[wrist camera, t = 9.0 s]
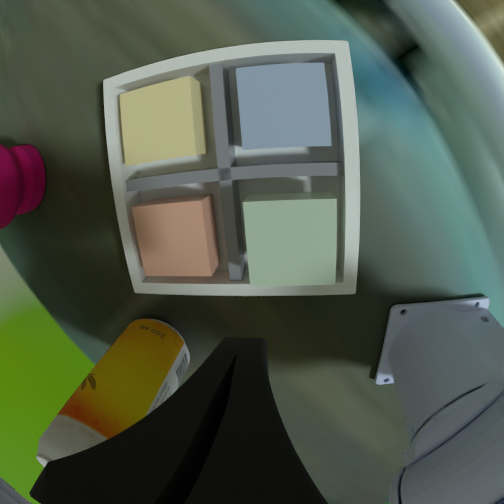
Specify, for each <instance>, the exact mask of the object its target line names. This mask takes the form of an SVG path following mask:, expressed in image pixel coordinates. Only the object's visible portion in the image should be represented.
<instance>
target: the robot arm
mask: <svg viewBox="0 0 504 504" xmlns="http://www.w3.org/2000/svg"><path fill="white" fill-rule="evenodd" d="M489 301H490V300H489V298H488V297H487V296H483V297H475V298H466V299H457V300H447V301H436V302H425V303H413V304H399V305H394V306H393V307H392V308H391V309H390V313H389V318H388V324H387V329H386V334H385V339H384V344H383V348H382V353H381V357H380V361H379V365H378V369H377V373H376V377H375V382H376V384H389V383H394V384H395V387H396V391H397V394H398V397H399V401H400V405H401V408H402V412H403V416H404V419H405V423H406V427H407V431H408V435H409V440H410V444H411V445H410V446H409V447H408V448H407V449H406V450H404V451H403V452H402V454H403V460H404V466H403V467H401V468H400V469H399V470H398V471H397V472H396V474H395V475H394V478H393V480H392V483H391V487H390V504H504V328H503V327H502V326H501V325H500V323H499V322H498V321H497V320H496V319H495V318H494V316H493V315H492V314H491V313H490V312H489V311H488V310H487V309H488V306H489ZM476 302H477V303H476ZM475 304H476V305H475ZM404 309H405V311H404V312H402V313H400V312H401V311H402V310H404ZM386 378H387V379H386ZM30 496H31V497H32V498H34V499H35V500H36V501H38V502H39V503H41V504H328V503H327V501H326V500H325V499H324V497H323V496H322V494H321V493H320V491H319V490H318V488H317V487H316V485H315V484H314V482H313V481H312V479H311V478H310V476H309V474H308V472H307V471H306V469H305V467H304V465H303V464H302V462H301V460H300V458H299V456H298V455H297V453H296V451H295V449H294V447H293V445H292V443H291V440H290V438H289V436H288V434H287V432H286V429H285V427H284V425H283V422H282V420H281V417H280V414H279V412H278V409H277V406H276V403H275V400H274V397H273V393H272V390H271V386H270V382H269V375H268V361H267V346H266V341H265V340H264V339H263V338H228V337H225V338H224V339H223V340H222V341H221V342H220V344H219V345H218V346H217V347H216V348H215V350H214V351H213V352H212V353H211V354H210V356H209V357H208V358H207V359H206V360H205V361H204V362H203V364H202V365H201V366H200V367H199V368H198V369H197V370H196V371H195V372H194V373H193V374H192V376H191V377H190V378H189V379H188V380H187V381H186V382H185V383H184V384H183V385H182V386H181V387H180V388H178V389H177V390H176V391H175V392H174V393H173V394H172V395H171V396H170V397H169V398H168V399H167V400H165V401H164V402H163V403H162V404H161V405H159V406H158V407H157V408H156V409H154V410H153V411H152V412H150V413H149V414H148V415H146V416H145V417H144V418H142V419H141V420H139V421H138V422H136V423H135V424H133V425H132V426H130V427H129V428H127V429H125V430H124V431H122V432H120V433H119V434H117V435H115V436H113V437H111V438H109V439H107V440H105V441H103V442H101V443H99V444H97V445H95V446H93V447H90V448H88V449H86V450H83V451H81V452H78V453H75V454H72V455H69V456H66V457H63V458H60V459H56V460H53V461H49V462H48V463H47V464H46V466H45V467H44V469H43V471H42V472H41V474H40V476H39V477H38V479H37V481H36V482H35V484H34V486H33V488H32V489H31V491H30ZM0 504H32V503H30V502H29V501H28V500H26V499H25V498H24V497H23V496H21V495H20V494H19V493H17V492H16V491H15V489H14V488H13V487H12V486H10V485H9V484H8V483H7V482H6V481H4V480H3V479H2V478H1V477H0Z"/></svg>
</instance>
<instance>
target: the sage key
mask: <svg viewBox="0 0 504 504" xmlns="http://www.w3.org/2000/svg"><path fill="white" fill-rule="evenodd" d="M243 213H244V224H245V235H246V246H247V257H248V268H249V279H250V286H302V285H335V280H336V251H337V199H336V197H335V196H334V195H333V193H332V192H293V193H268V194H250V195H249V196H248V197H247V198H246V199H245V200H244V201H243Z"/></svg>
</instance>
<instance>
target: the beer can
mask: <svg viewBox="0 0 504 504" xmlns="http://www.w3.org/2000/svg"><path fill="white" fill-rule="evenodd" d="M189 361H190V354H189V350H188V348H187V346H186V343H185V341H184V339H183V337H182V336H181V335H180V333H179V332H178V331H177V330H176V329H174V328H173V327H172V326H171V325H169V324H167V323H165V322H163V321H160V320H156V319H138V320H135V321H133V322H131V323H130V324H129V325H128V327H127V328H126V329H125V330H124V331H123V333H122V334H121V335H120V336H119V337H118V338H117V340H116V341H115V342H114V343H113V345H112V346H111V347H110V348H109V349H108V351H107V352H106V353H105V354H104V356H103V357H102V358H101V359H100V360H99V362H98V363H97V364H96V365H95V367H94V368H93V369H92V370H91V372H90V373H89V374H88V376H87V377H86V378H85V379H84V381H83V382H82V383H81V384H80V386H79V387H78V388H77V389H76V391H75V392H74V393H73V395H72V396H71V397H70V399H69V400H68V401H67V402H66V404H65V405H64V407H63V408H62V409H61V410H60V412H59V413H58V414H57V416H56V417H55V418H54V420H53V421H52V423H51V424H50V425H49V427H48V428H47V429H46V431H45V432H44V433H43V435H42V436H41V437H40V439H39V446H38V454H37V455H36V458H37V460H38V461H39V462H40V463H41V464H42V465H43V466H44V467H45V466H46V464H47V463H48V462H49V461H53V460H56V459H60V458H63V457H66V456H69V455H72V454H75V453H78V452H81V451H83V450H86V449H88V448H90V447H93V446H95V445H97V444H99V443H101V442H103V441H105V440H107V439H109V438H111V437H113V436H115V435H117V434H119V433H120V432H122V431H124V430H125V429H127V428H129V427H130V426H132V425H133V424H135V423H136V422H138V421H139V420H141V419H142V418H144V417H145V416H146V415H148V414H149V413H150V412H152V411H153V410H154V409H156V408H157V407H158V406H159V405H161V404H162V403H163V402H164V401H165V400H167V399H168V398H169V397H170V396H171V395H172V394H173V393H174V392H175V391H176V390H177V388H178V385H179V383H180V381H181V379H182V377H183V375H184V373H185V371H186V369H187V367H188V364H189Z"/></svg>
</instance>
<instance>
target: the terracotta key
mask: <svg viewBox="0 0 504 504" xmlns="http://www.w3.org/2000/svg"><path fill="white" fill-rule="evenodd" d="M132 212H133V217H134V223H135V228H136V234H137V239H138V244H139V249H140V254H141V258H142V263H143V267H144V272H145V276H212V275H213V273H214V271H215V270H216V268H217V267H218V265H219V263H220V255H219V247H218V238H217V230H216V222H215V213H214V204H213V195H212V194H203V195H192V196H181V197H171V198H161V199H152V200H147V201H145V202H142V203H140V204H138V205H136V206H133V207H132Z"/></svg>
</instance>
